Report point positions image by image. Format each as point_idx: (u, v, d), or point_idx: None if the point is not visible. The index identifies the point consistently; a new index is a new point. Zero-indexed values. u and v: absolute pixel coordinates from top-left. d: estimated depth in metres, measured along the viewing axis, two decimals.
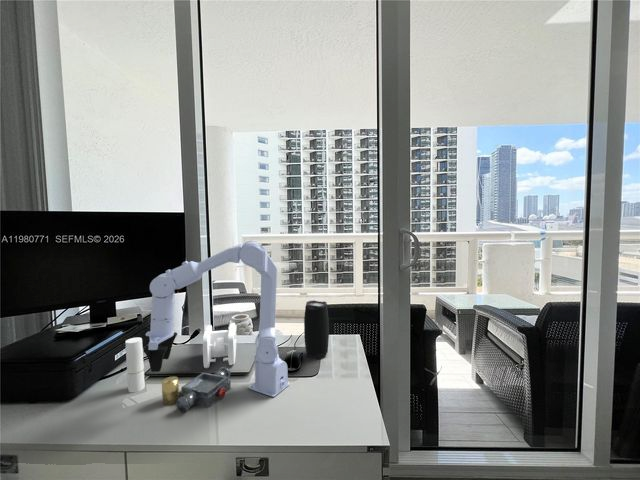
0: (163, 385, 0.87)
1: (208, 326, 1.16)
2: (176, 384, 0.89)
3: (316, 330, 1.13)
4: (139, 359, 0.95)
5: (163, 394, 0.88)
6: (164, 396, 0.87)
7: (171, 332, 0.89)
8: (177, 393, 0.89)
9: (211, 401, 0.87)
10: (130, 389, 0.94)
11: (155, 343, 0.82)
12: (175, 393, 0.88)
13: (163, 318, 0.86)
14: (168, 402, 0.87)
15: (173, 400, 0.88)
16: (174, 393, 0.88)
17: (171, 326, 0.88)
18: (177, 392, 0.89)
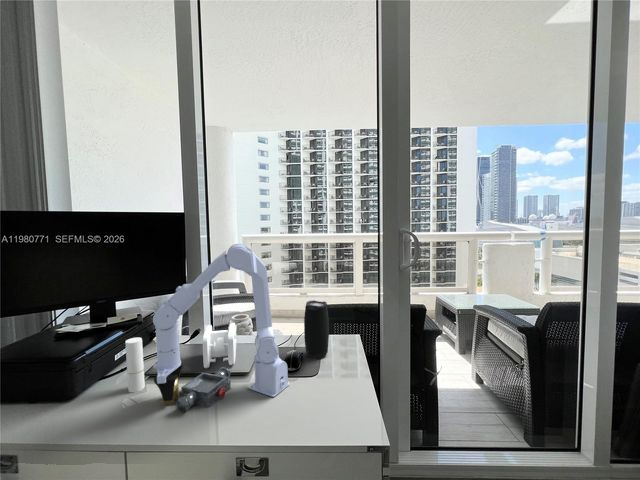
0: None
1: (208, 326, 1.16)
2: (176, 384, 0.89)
3: (316, 330, 1.13)
4: (139, 359, 0.95)
5: None
6: None
7: (178, 362, 0.88)
8: (177, 393, 0.89)
9: (211, 401, 0.87)
10: (130, 389, 0.94)
11: (163, 376, 0.82)
12: (175, 393, 0.88)
13: (169, 349, 0.86)
14: (168, 402, 0.87)
15: (173, 400, 0.88)
16: (174, 393, 0.88)
17: (178, 356, 0.88)
18: (177, 392, 0.89)
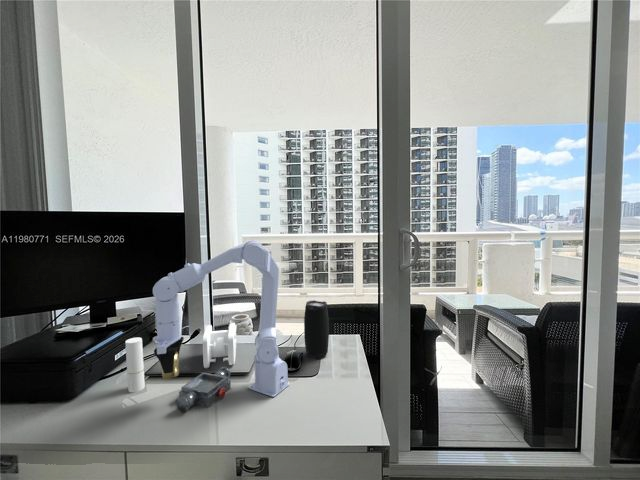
0: None
1: (208, 326, 1.16)
2: (176, 358, 0.88)
3: (316, 330, 1.13)
4: (139, 359, 0.95)
5: None
6: None
7: (178, 335, 0.88)
8: (177, 367, 0.89)
9: (211, 401, 0.87)
10: (130, 389, 0.94)
11: (163, 347, 0.81)
12: (175, 367, 0.88)
13: (169, 321, 0.85)
14: (168, 376, 0.87)
15: (173, 374, 0.88)
16: (174, 367, 0.88)
17: (178, 329, 0.88)
18: (177, 366, 0.89)
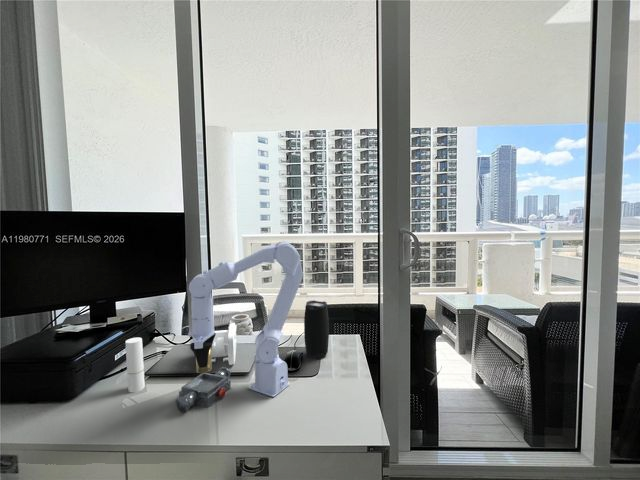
0: None
1: None
2: (209, 353, 0.91)
3: (316, 330, 1.13)
4: (139, 359, 0.95)
5: None
6: None
7: (212, 330, 0.91)
8: (210, 362, 0.92)
9: (211, 401, 0.87)
10: (130, 389, 0.94)
11: (200, 342, 0.84)
12: (209, 361, 0.91)
13: (204, 317, 0.88)
14: (202, 370, 0.90)
15: (207, 368, 0.90)
16: (208, 362, 0.91)
17: (212, 325, 0.91)
18: (210, 361, 0.92)
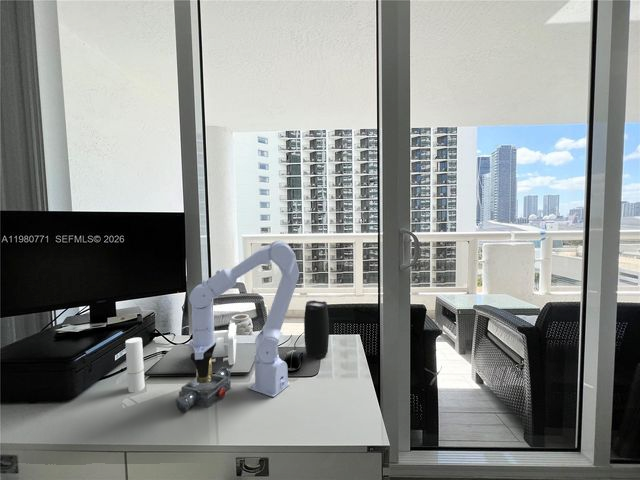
0: None
1: None
2: (210, 363, 0.91)
3: (316, 330, 1.13)
4: (139, 359, 0.95)
5: None
6: None
7: (213, 340, 0.91)
8: (211, 372, 0.92)
9: (211, 401, 0.87)
10: (130, 389, 0.94)
11: (201, 353, 0.84)
12: (209, 371, 0.91)
13: (204, 328, 0.89)
14: (203, 380, 0.90)
15: (207, 378, 0.91)
16: (208, 372, 0.91)
17: (212, 335, 0.91)
18: (211, 371, 0.92)
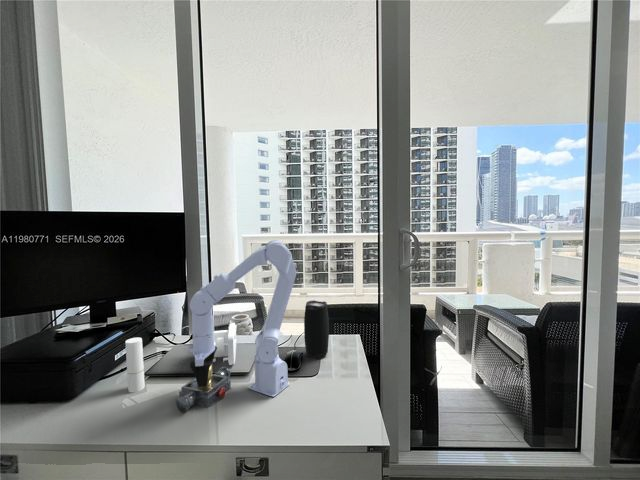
0: None
1: None
2: (210, 369, 0.92)
3: (316, 330, 1.13)
4: (139, 359, 0.95)
5: None
6: None
7: (213, 347, 0.91)
8: (211, 378, 0.92)
9: (211, 401, 0.87)
10: (130, 389, 0.94)
11: (201, 359, 0.85)
12: (209, 378, 0.91)
13: (205, 334, 0.89)
14: (203, 387, 0.90)
15: (208, 385, 0.91)
16: (209, 378, 0.91)
17: (212, 341, 0.91)
18: (211, 377, 0.92)
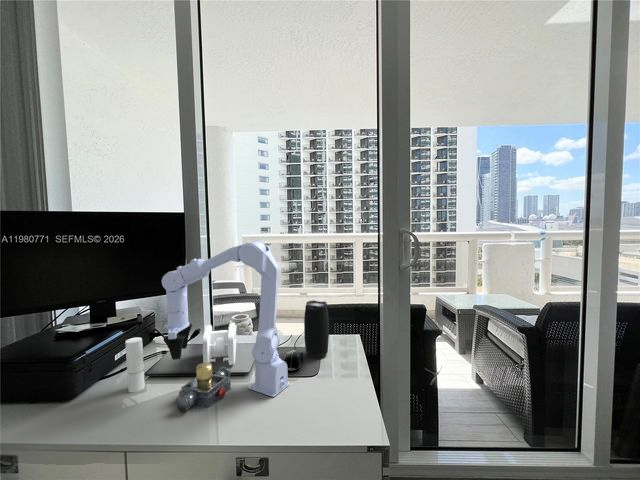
0: (198, 370, 0.90)
1: (208, 326, 1.16)
2: (210, 369, 0.92)
3: (316, 330, 1.13)
4: (139, 359, 0.95)
5: (198, 379, 0.91)
6: (199, 381, 0.90)
7: (187, 323, 0.96)
8: (211, 378, 0.92)
9: (211, 401, 0.87)
10: (130, 389, 0.94)
11: (174, 333, 0.90)
12: (209, 378, 0.91)
13: (175, 310, 0.94)
14: (203, 386, 0.90)
15: (207, 385, 0.91)
16: (209, 378, 0.91)
17: (186, 317, 0.96)
18: (211, 377, 0.92)
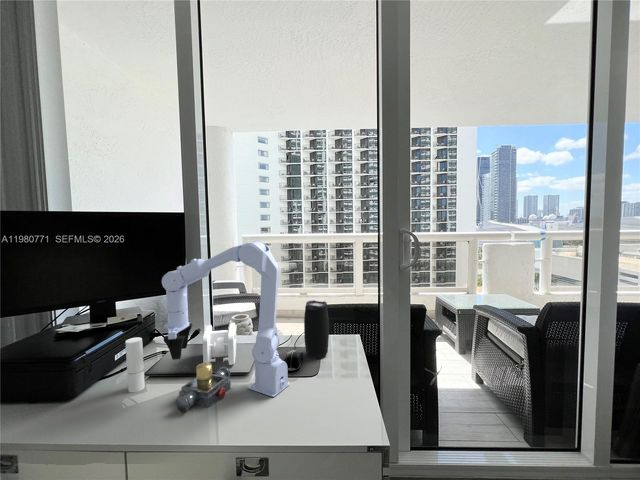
0: (198, 370, 0.90)
1: (208, 326, 1.16)
2: (210, 369, 0.92)
3: (316, 330, 1.13)
4: (139, 359, 0.95)
5: (198, 379, 0.91)
6: (199, 380, 0.90)
7: (187, 323, 0.96)
8: (211, 378, 0.92)
9: (211, 401, 0.87)
10: (130, 389, 0.94)
11: (174, 333, 0.90)
12: (209, 378, 0.91)
13: (175, 310, 0.94)
14: (203, 386, 0.90)
15: (207, 385, 0.91)
16: (208, 378, 0.91)
17: (186, 317, 0.96)
18: (211, 377, 0.92)
